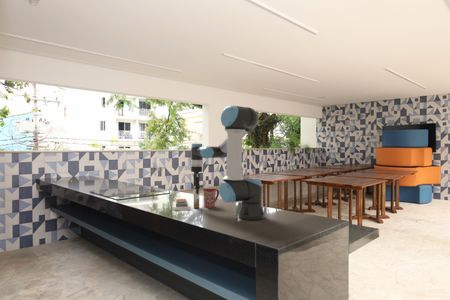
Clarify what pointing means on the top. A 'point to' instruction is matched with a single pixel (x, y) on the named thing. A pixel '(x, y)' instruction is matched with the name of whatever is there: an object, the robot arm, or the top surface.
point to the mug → (210, 196)
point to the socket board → (181, 204)
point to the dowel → (196, 202)
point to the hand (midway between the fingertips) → (196, 197)
